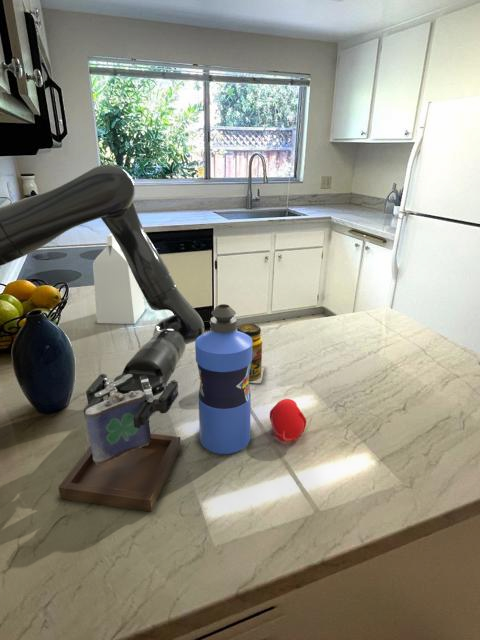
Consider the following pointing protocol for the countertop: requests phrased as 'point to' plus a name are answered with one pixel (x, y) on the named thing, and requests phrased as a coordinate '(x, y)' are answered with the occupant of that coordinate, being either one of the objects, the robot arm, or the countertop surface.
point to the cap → (287, 420)
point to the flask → (116, 426)
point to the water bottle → (224, 383)
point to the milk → (116, 287)
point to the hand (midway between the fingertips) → (112, 420)
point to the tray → (123, 476)
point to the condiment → (254, 351)
